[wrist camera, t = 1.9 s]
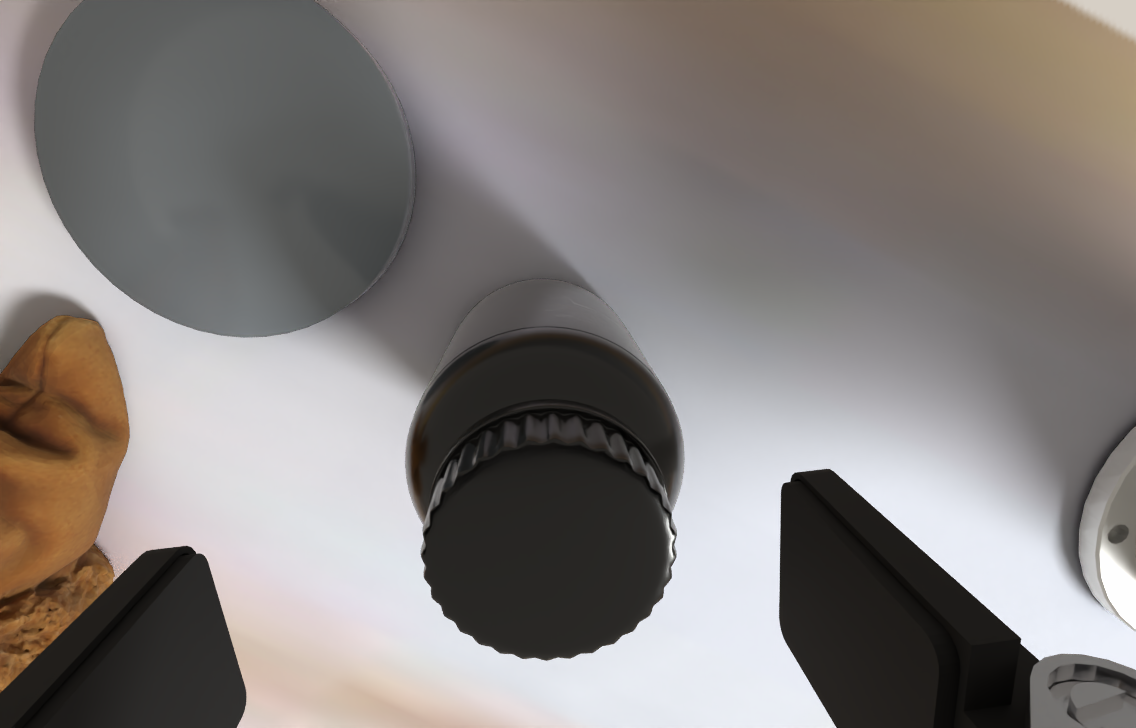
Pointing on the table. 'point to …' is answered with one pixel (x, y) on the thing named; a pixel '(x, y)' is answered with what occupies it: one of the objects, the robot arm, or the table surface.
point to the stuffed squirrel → (55, 482)
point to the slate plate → (225, 158)
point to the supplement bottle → (545, 474)
